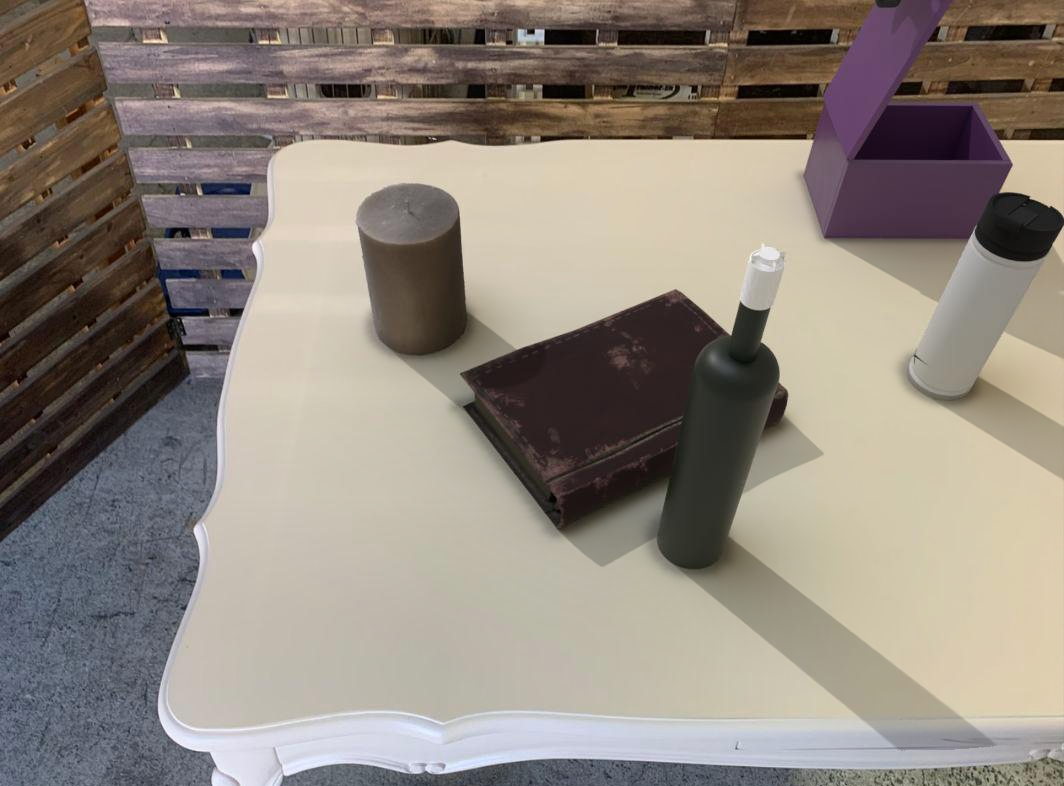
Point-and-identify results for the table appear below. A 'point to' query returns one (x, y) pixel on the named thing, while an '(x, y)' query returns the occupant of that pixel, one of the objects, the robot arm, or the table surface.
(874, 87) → the lid
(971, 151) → the box
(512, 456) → the diary
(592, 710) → the table surface
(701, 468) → the wine bottle
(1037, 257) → the travel mug
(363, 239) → the pillar candle
